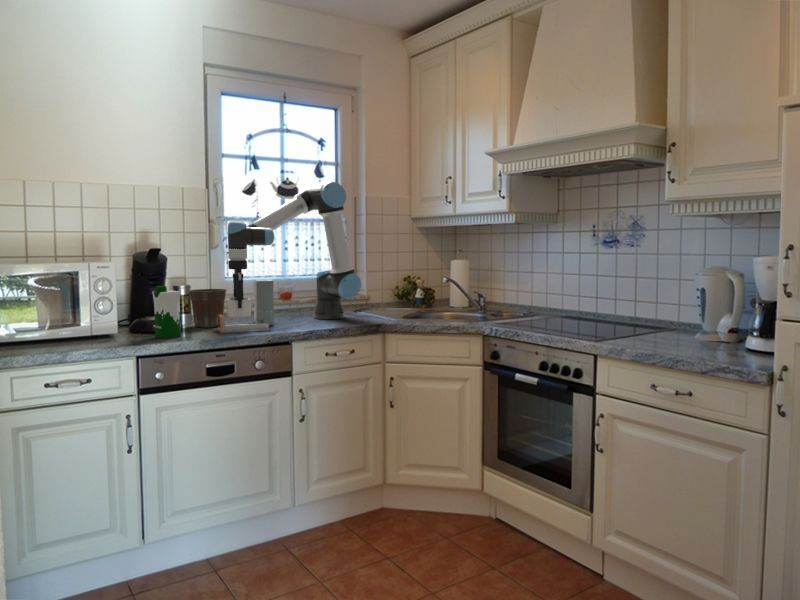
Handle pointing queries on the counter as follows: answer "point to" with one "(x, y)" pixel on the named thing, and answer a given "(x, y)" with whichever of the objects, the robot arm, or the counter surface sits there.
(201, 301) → the plant pot
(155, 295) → the milk carton
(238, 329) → the rail dock
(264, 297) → the hard drive box
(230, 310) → the din module
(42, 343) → the counter surface
